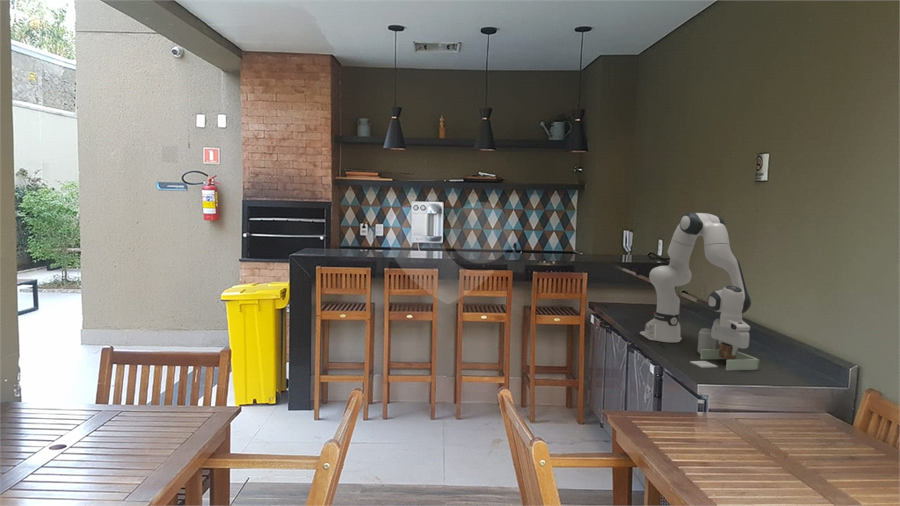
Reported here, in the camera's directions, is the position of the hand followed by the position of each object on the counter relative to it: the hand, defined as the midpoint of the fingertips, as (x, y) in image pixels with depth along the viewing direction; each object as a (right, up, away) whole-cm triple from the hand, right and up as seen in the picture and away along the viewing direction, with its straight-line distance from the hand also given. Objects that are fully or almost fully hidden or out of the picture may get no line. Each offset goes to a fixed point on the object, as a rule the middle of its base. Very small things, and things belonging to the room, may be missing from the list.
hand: (727, 353), depth 263 cm
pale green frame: (+1, -5, +1) cm, 5 cm away
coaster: (-12, -5, -2) cm, 13 cm away
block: (0, -2, 0) cm, 2 cm away
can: (-2, -4, +17) cm, 18 cm away
